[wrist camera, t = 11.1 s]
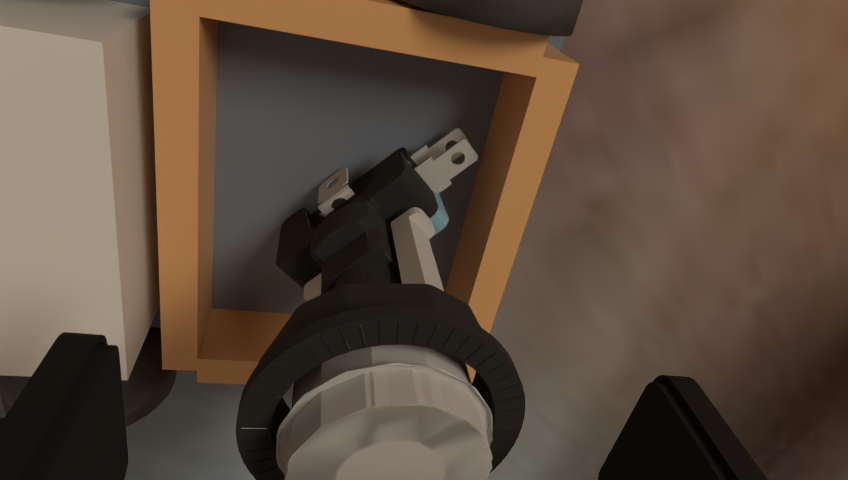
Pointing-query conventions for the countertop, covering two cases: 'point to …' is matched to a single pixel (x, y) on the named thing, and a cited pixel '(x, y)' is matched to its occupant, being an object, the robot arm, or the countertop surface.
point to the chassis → (245, 161)
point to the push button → (379, 342)
